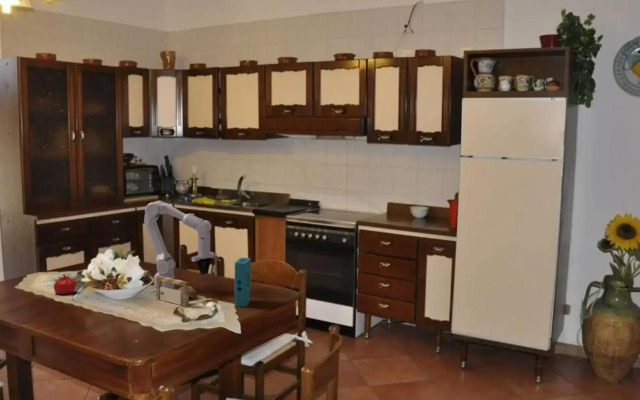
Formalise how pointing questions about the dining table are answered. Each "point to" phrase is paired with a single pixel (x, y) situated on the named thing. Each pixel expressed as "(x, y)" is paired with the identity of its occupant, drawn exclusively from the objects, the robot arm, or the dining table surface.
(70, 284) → the pomegranate
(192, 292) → the bread roll
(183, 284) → the door frame
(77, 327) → the dining table surface
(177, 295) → the door
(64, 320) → the dining table surface
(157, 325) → the dining table surface
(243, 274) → the block
